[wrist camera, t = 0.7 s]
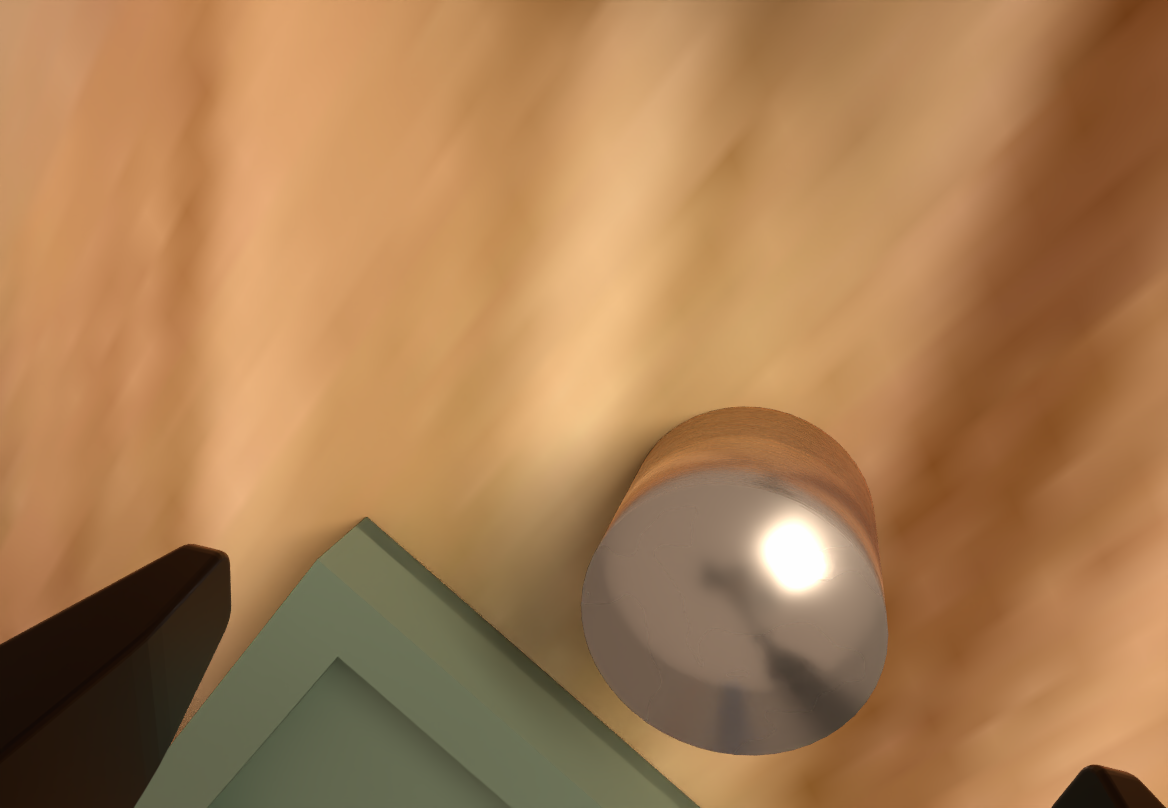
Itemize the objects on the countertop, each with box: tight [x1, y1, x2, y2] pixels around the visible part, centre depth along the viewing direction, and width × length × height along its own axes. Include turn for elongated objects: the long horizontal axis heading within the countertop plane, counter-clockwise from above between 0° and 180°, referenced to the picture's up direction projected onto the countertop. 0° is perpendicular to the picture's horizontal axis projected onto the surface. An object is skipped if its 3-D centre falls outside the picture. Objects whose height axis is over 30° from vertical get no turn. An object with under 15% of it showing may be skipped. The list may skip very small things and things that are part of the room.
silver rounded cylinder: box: [581, 407, 888, 755], centre depth 20 cm, size 6×6×5 cm
